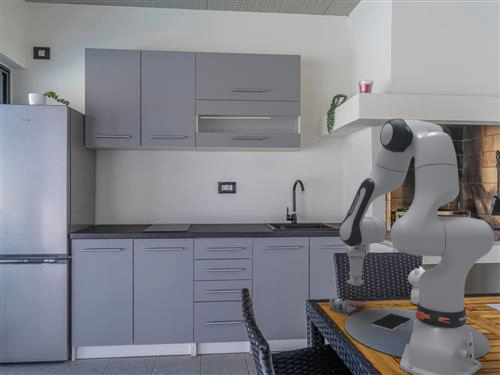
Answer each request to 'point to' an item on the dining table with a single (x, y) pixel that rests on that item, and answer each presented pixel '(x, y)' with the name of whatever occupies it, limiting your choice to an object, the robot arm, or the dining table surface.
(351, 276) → the cap
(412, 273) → the cat figurine
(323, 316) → the dining table surface
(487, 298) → the dining table surface
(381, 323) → the smartphone
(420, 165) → the robot arm
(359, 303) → the bayonet base
